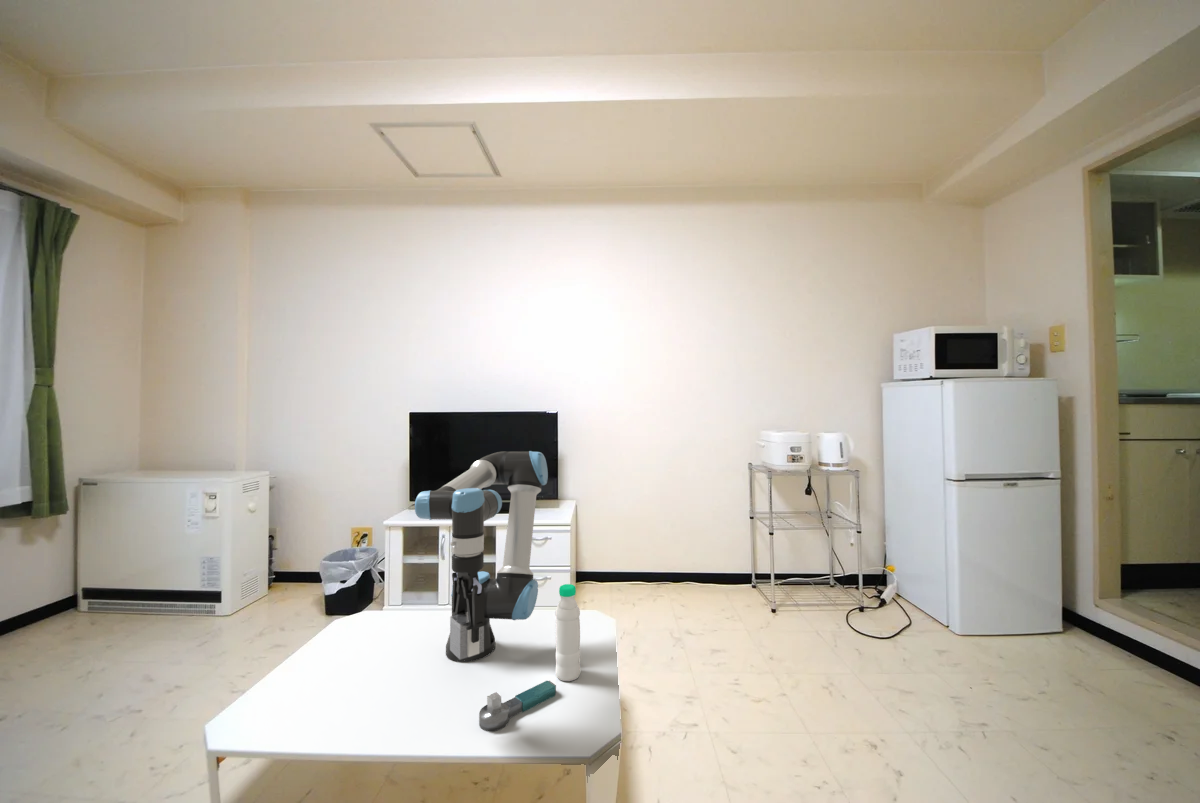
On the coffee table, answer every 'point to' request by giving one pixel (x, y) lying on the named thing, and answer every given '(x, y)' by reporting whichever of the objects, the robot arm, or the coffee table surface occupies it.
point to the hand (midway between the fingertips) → (467, 649)
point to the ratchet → (512, 706)
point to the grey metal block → (462, 635)
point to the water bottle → (567, 635)
